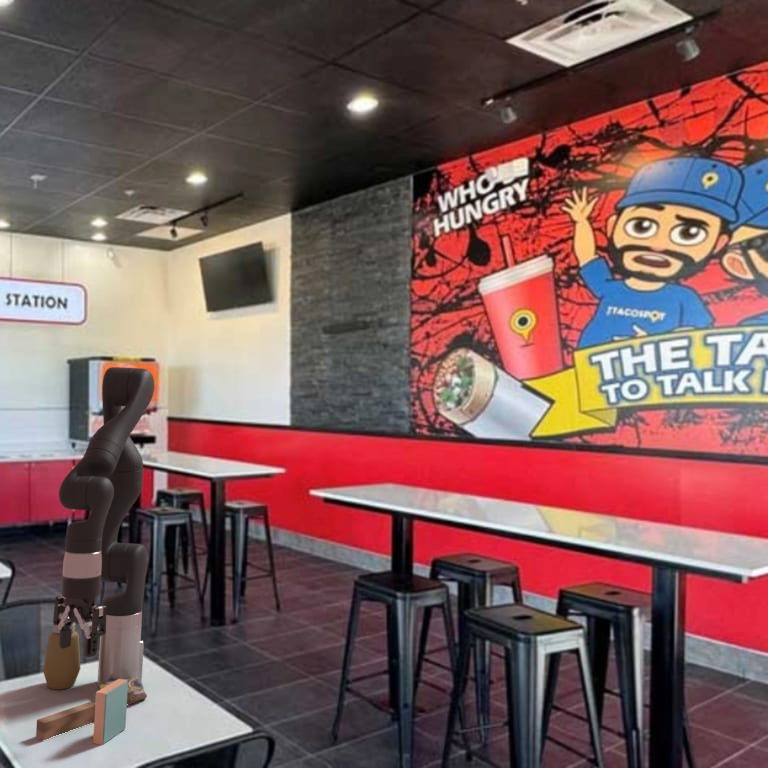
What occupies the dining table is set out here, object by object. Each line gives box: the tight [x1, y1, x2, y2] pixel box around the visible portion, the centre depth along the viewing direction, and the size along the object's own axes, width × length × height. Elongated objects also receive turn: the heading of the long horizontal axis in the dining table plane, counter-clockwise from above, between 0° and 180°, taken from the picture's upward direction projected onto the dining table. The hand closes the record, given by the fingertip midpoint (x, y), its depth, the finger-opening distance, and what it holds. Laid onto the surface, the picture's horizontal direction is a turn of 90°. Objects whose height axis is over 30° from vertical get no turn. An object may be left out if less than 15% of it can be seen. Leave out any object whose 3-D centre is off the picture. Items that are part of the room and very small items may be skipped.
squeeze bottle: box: [42, 613, 81, 690], centre depth 181 cm, size 8×8×18 cm
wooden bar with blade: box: [35, 701, 95, 741], centre depth 160 cm, size 18×6×4 cm, turn 147°
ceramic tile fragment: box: [99, 678, 148, 706], centre depth 176 cm, size 12×3×10 cm
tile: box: [92, 679, 128, 746], centre depth 156 cm, size 2×8×10 cm, turn 166°
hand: (77, 651), depth 159 cm, fingers open, 8 cm apart
